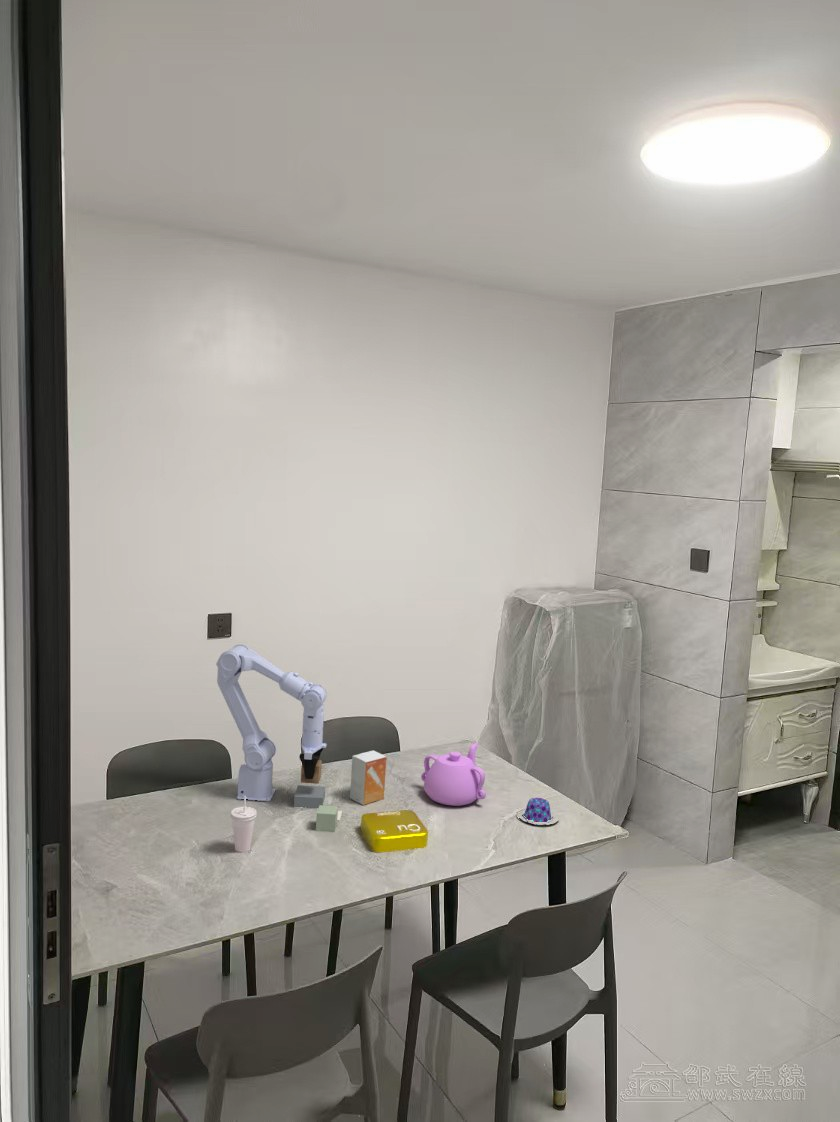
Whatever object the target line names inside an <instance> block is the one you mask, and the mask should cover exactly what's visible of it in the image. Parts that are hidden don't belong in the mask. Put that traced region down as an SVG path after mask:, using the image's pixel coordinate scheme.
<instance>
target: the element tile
mask: <svg viewBox="0 0 840 1122" xmlns="http://www.w3.org/2000/svg"><path fill="white" fill-rule="evenodd" d="M360 818H361V819H360V832H361V834H362V835H363V837H364V839H365V841H366V842H367V844H368V846H369V848H370V850H371V851H372V852H375V853H379V854H380V853H389V852H399V851H401V850H402V851H408V849H410V850H418V849H417V848H421V849H425V848H427V847H428V838H429V830H428V829H427V828H426V826H425V825H424V823H423V822H422V820H421V819H420V817H418V815H417V813H415V812H414V811H413V810H412V809H411V810H410V809H408V810H407V809H406V810H405V809H404V810H393V811H381V812H380V811H379V812H370V813H369V812H367V813H364V814H362V815H361V817H360ZM426 846H427V847H426ZM424 847H425V848H424ZM415 848H416V849H415Z"/></svg>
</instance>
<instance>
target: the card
mask: <svg viewBox="0 0 840 1122" xmlns="http://www.w3.org/2000/svg"><path fill="white" fill-rule="evenodd" d="M342 815H343V810H338V816H337V822H340V821H341V818H342Z"/></svg>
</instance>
